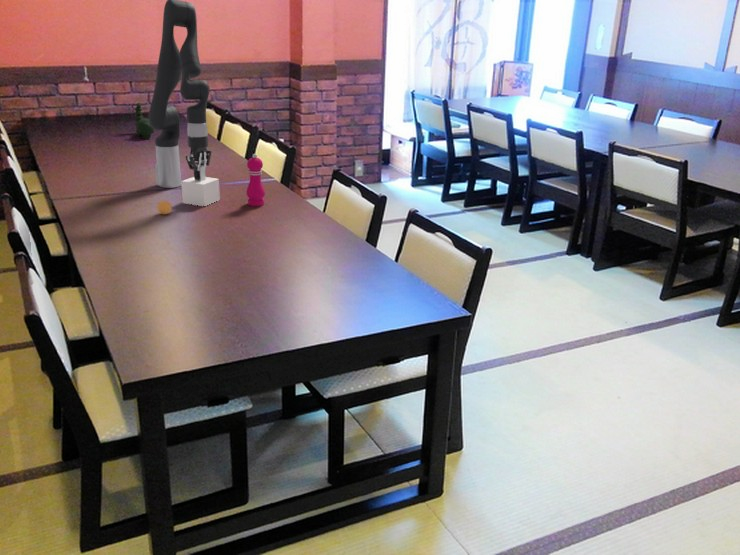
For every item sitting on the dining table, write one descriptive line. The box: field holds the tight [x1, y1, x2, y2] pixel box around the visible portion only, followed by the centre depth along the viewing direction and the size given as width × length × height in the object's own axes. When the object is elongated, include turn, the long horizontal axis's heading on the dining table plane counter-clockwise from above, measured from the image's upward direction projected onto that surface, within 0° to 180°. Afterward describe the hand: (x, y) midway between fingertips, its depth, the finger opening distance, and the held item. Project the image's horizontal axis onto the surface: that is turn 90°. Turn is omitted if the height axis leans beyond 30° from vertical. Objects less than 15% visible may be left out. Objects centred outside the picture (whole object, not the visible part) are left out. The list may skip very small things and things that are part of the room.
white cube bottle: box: [181, 164, 221, 207], centre depth 267 cm, size 10×10×14 cm
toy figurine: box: [134, 102, 155, 140], centre depth 381 cm, size 9×19×25 cm
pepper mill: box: [246, 153, 266, 207], centre depth 266 cm, size 7×7×20 cm
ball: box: [156, 200, 172, 215], centre depth 252 cm, size 5×5×5 cm
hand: (200, 178), depth 266 cm, fingers closed on white cube bottle, 3 cm apart
